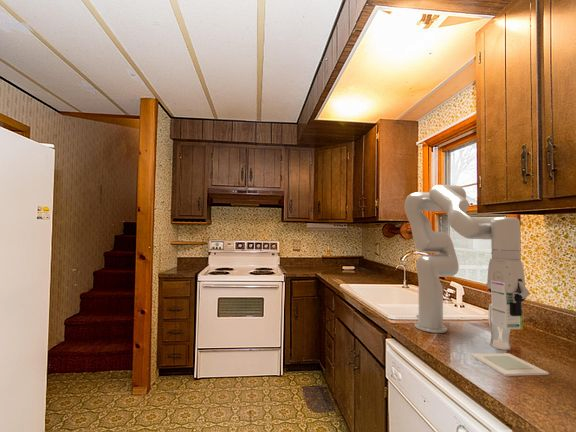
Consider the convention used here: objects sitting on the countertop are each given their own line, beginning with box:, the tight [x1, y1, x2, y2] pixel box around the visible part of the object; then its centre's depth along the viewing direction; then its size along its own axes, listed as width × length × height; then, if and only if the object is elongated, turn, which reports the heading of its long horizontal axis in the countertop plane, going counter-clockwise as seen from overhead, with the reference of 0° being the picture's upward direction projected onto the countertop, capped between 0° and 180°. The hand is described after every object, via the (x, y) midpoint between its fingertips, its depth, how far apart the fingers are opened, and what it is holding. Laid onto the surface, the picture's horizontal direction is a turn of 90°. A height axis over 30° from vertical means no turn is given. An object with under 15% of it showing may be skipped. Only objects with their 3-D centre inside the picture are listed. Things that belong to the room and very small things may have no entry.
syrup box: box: [490, 280, 524, 330], centre depth 95 cm, size 6×6×14 cm
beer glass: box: [487, 302, 511, 351], centre depth 109 cm, size 7×7×15 cm
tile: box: [470, 352, 550, 377], centre depth 94 cm, size 14×14×1 cm
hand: (506, 312), depth 95 cm, fingers closed on syrup box, 5 cm apart
